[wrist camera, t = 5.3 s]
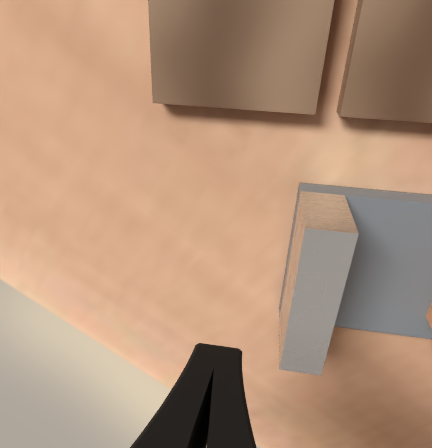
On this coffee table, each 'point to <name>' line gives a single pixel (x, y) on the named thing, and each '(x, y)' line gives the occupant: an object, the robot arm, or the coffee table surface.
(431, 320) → the cube
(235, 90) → the broken strip
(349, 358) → the coffee table surface
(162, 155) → the coffee table surface
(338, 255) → the grey tray
